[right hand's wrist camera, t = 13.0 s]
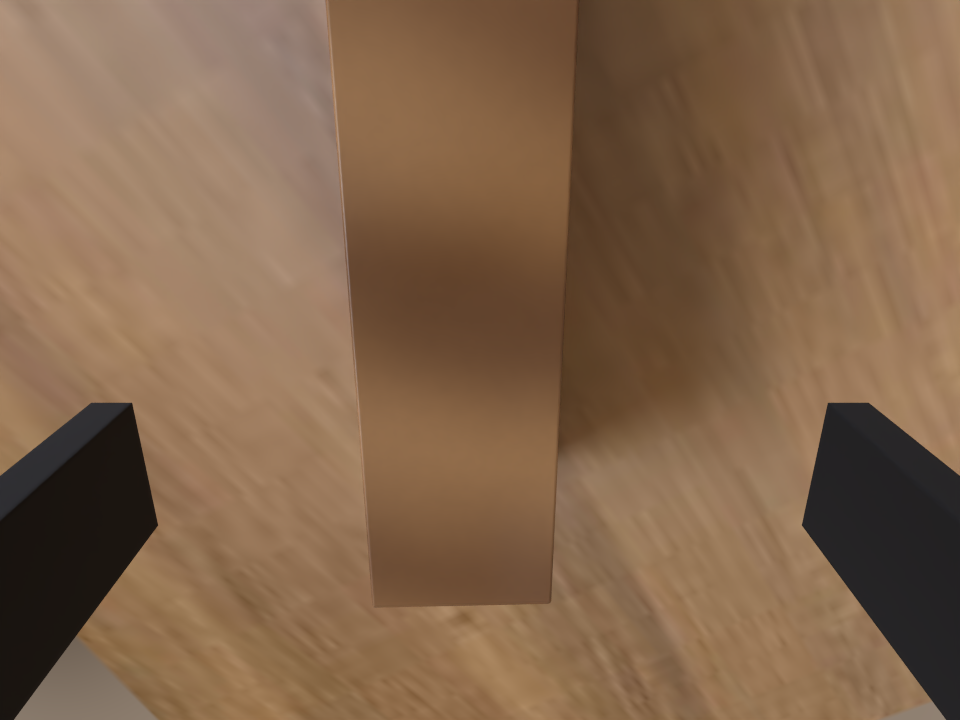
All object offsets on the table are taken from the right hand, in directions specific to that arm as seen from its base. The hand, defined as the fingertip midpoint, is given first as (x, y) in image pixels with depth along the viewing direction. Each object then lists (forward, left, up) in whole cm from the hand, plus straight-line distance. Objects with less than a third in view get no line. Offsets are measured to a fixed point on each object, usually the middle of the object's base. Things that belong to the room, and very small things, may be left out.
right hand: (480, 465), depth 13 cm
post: (+29, -12, -11) cm, 33 cm away
